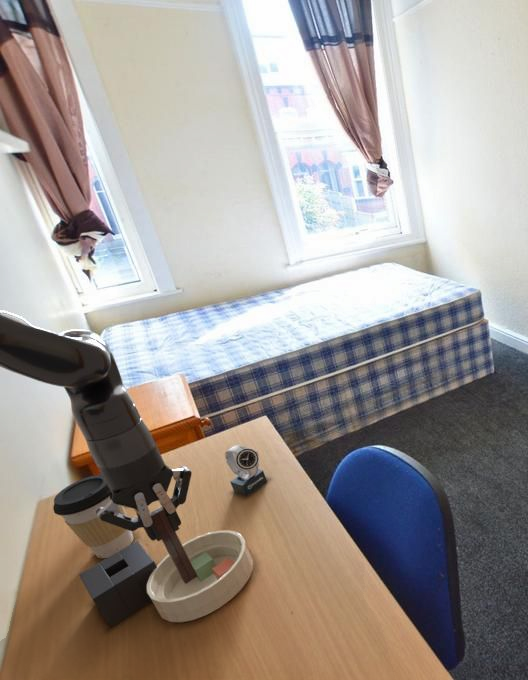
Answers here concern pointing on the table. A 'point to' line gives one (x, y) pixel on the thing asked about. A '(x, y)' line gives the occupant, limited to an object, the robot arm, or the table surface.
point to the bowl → (197, 596)
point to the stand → (120, 582)
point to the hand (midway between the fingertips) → (167, 533)
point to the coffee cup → (91, 516)
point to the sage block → (203, 566)
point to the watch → (245, 469)
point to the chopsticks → (173, 545)
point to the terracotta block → (222, 568)
